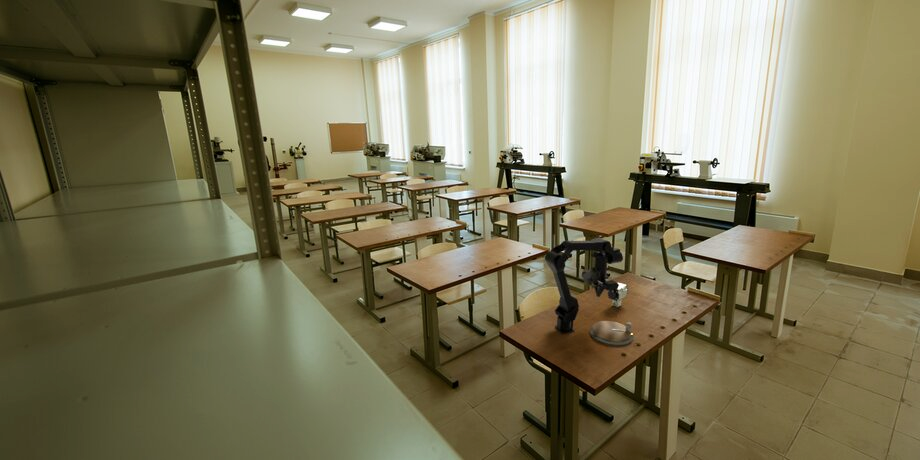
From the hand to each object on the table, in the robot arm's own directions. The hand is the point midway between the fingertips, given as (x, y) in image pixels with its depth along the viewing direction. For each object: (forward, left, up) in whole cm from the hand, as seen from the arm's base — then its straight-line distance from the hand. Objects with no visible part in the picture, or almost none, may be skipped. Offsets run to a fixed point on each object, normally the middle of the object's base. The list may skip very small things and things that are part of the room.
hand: (598, 296), depth 181 cm
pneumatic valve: (+20, +11, -13) cm, 26 cm away
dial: (-1, -12, -12) cm, 17 cm away
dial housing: (-1, -12, -13) cm, 18 cm away
